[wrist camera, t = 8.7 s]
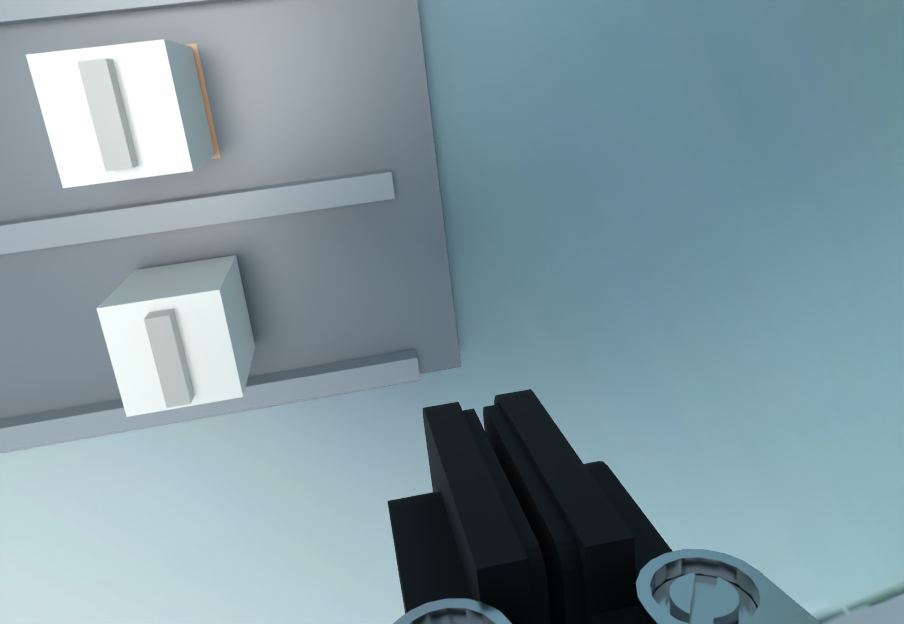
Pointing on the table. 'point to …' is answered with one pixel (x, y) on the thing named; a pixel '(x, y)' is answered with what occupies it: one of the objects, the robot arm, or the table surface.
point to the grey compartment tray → (231, 208)
